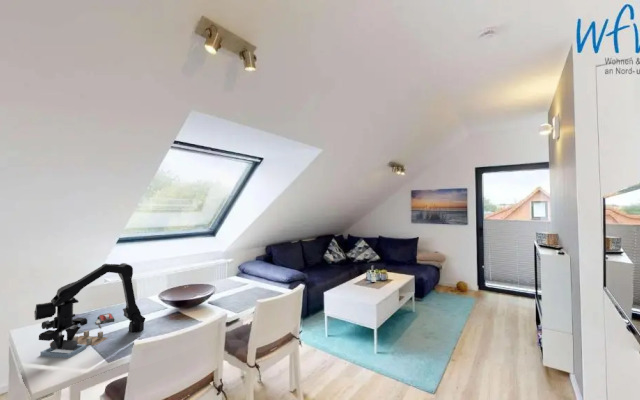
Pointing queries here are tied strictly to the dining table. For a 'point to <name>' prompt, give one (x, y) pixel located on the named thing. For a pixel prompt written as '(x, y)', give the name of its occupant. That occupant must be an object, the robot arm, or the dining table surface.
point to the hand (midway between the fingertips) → (64, 346)
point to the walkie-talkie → (104, 319)
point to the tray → (64, 355)
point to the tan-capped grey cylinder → (65, 345)
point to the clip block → (89, 339)
